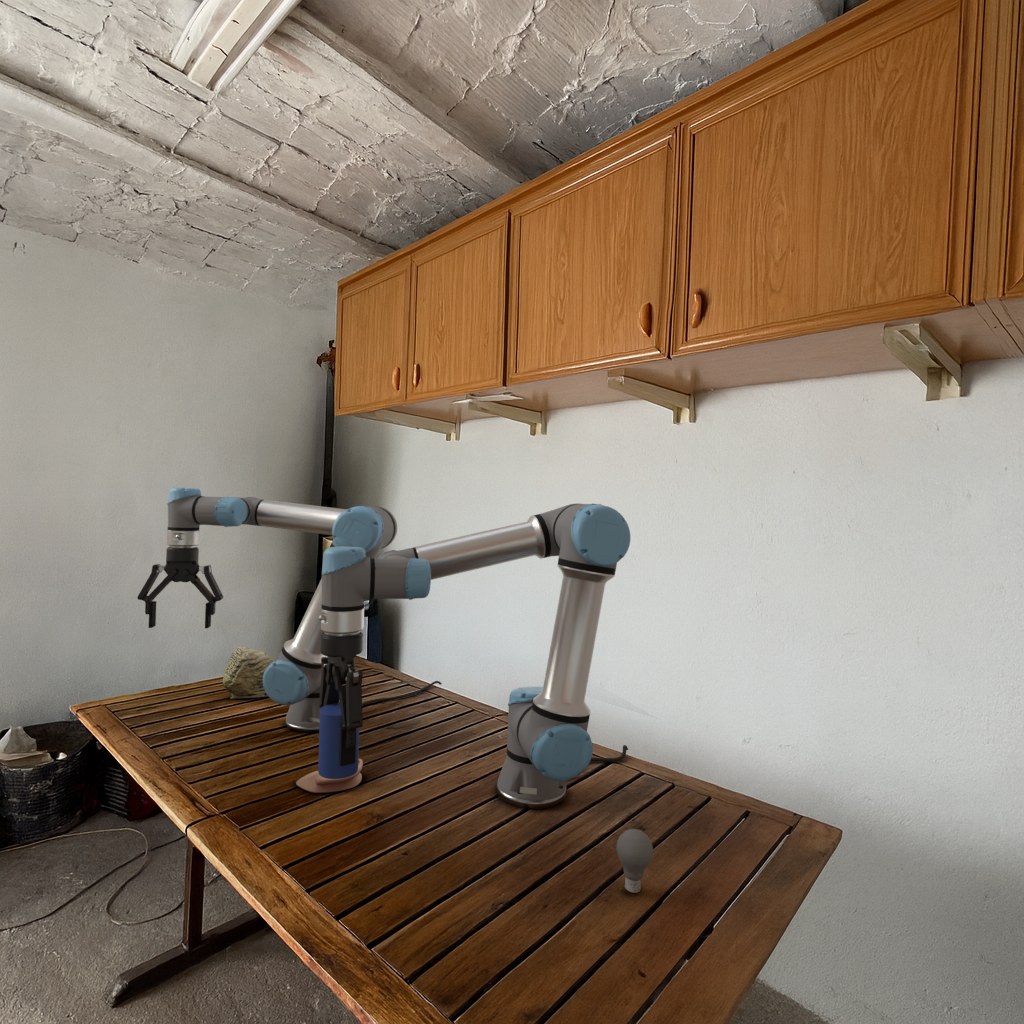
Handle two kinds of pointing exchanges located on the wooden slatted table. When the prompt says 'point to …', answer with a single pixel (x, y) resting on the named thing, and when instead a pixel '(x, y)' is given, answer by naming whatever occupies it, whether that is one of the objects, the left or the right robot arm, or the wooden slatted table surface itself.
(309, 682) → the left robot arm
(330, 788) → the anatomical model
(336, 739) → the blue cylinder
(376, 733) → the wooden slatted table surface
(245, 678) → the fossil
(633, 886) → the light bulb
